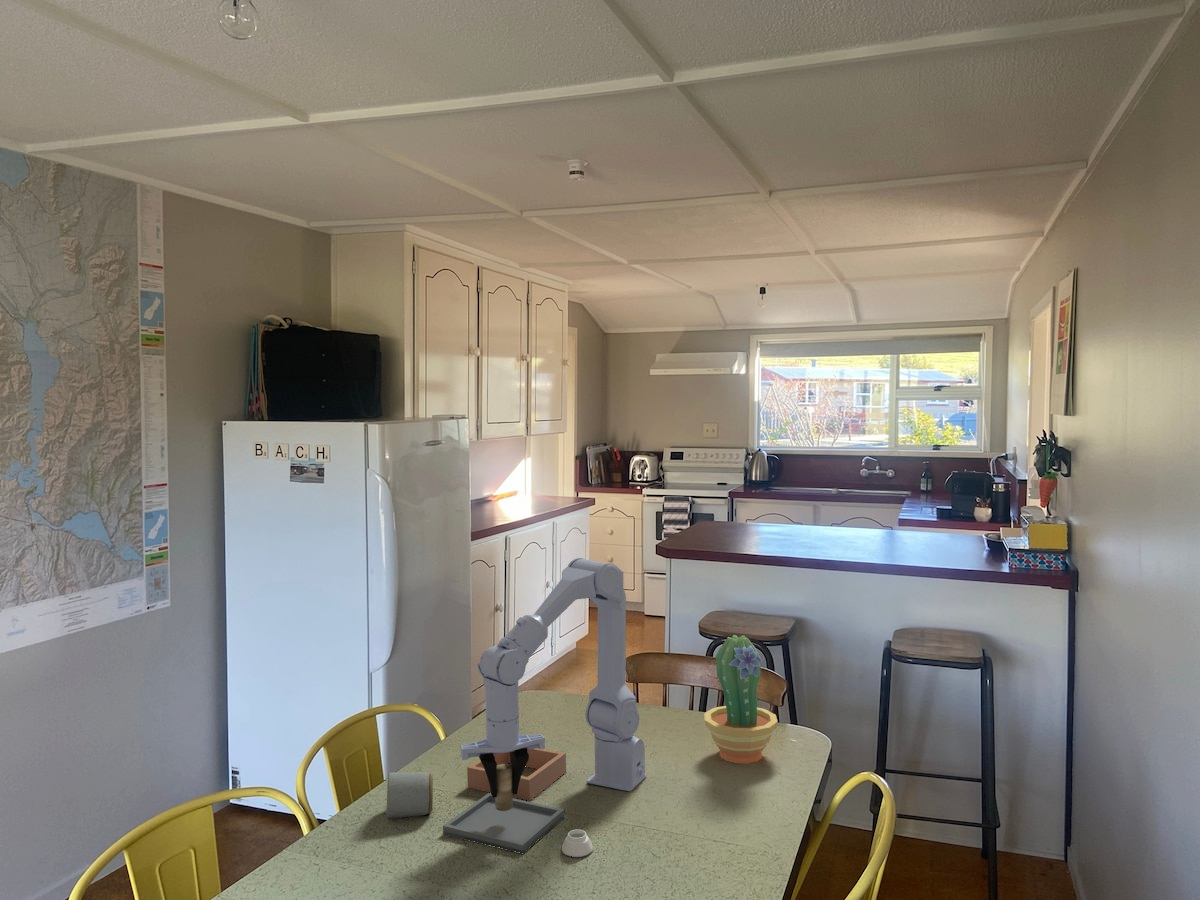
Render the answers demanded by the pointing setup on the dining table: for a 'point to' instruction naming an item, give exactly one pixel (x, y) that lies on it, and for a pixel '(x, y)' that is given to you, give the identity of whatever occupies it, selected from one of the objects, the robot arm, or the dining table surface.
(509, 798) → the maple pin
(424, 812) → the ceramic mug
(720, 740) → the potted cactus
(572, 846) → the white jar
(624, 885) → the dining table surface
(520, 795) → the terracotta planter box
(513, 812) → the slate tray
